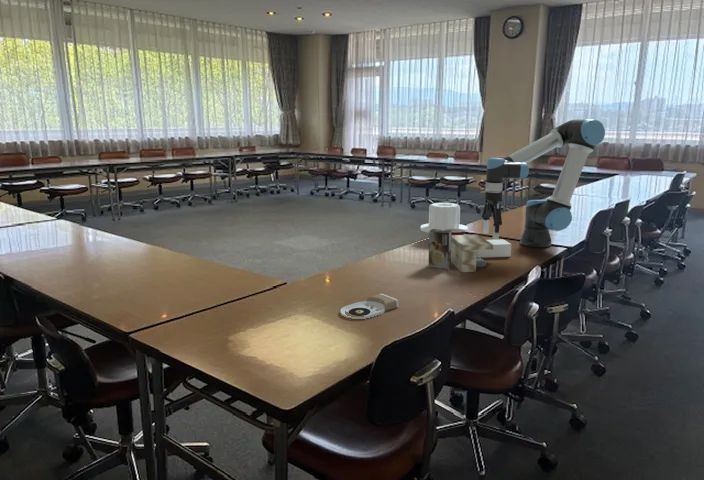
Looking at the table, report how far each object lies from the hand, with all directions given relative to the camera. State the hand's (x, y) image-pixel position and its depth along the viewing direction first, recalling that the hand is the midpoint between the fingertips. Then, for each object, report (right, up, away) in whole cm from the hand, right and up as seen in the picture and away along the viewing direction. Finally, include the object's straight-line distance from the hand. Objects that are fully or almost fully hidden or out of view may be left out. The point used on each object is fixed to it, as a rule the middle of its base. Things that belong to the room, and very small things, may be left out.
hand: (490, 236), depth 240 cm
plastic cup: (-17, -8, +5) cm, 19 cm away
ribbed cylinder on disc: (-16, -2, +34) cm, 38 cm away
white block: (+1, -9, +2) cm, 9 cm away
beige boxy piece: (-14, -13, -16) cm, 25 cm away
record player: (-60, -26, -68) cm, 95 cm away
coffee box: (-27, -13, -17) cm, 34 cm away
